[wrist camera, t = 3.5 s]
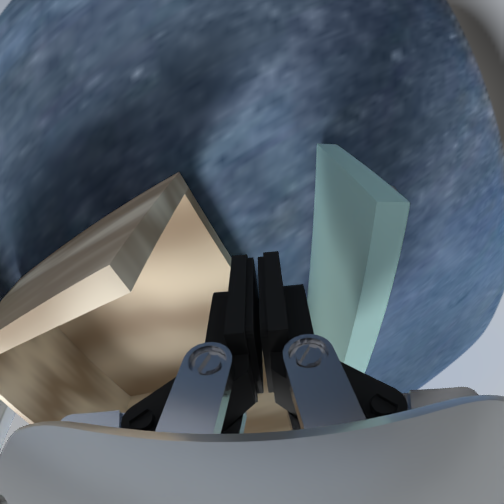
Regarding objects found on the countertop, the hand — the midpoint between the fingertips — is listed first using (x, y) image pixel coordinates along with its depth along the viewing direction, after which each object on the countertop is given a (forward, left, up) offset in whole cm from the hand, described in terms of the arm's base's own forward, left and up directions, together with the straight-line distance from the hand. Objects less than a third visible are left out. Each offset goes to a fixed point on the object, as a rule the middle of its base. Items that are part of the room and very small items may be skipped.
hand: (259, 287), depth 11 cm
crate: (-3, +10, -6) cm, 13 cm away
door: (-4, -2, -6) cm, 8 cm away
